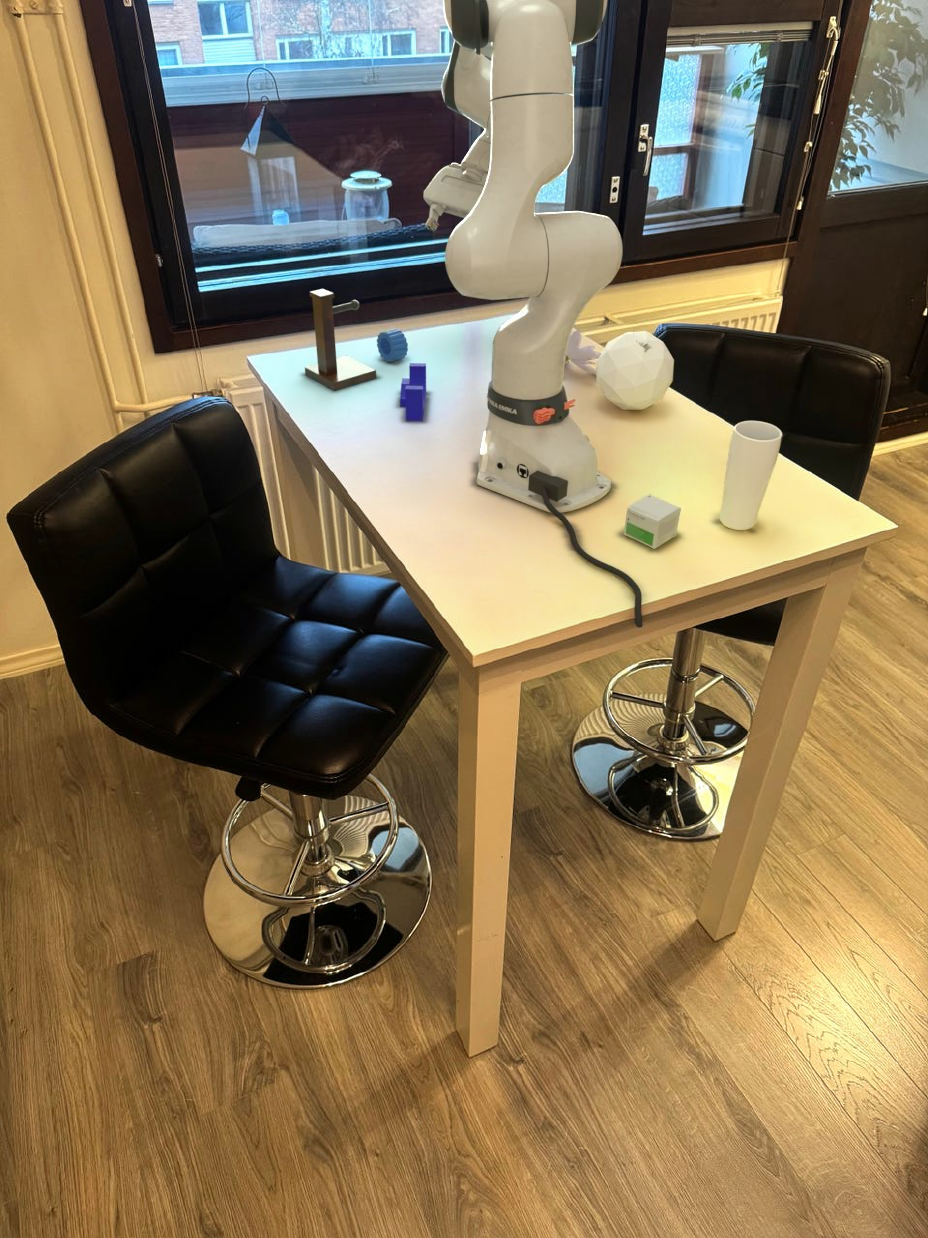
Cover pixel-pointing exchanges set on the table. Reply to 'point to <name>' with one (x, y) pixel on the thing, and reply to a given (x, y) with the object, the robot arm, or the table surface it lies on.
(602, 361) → the geodesic sphere
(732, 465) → the drinking glass
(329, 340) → the hook stand
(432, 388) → the table surface
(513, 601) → the table surface
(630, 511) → the small box
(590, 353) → the water lily
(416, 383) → the cable clip
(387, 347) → the fluted cylinder
